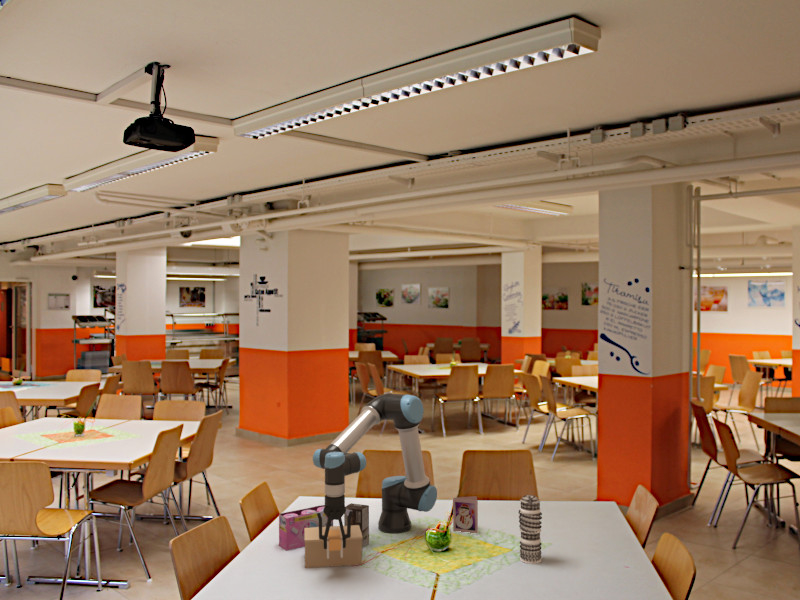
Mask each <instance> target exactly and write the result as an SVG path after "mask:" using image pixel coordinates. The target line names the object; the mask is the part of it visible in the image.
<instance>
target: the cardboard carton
mask: <svg viewBox="0 0 800 600" xmlns="http://www.w3.org/2000/svg"><path fill="white" fill-rule="evenodd" d="M362 552H363V550H362V539H356V540H346V547H345V548H343V558H341V556H340V550H335V551H329V559H327V549H324V541H320V542H305V546H304V568H306V569H308V568H309V569H310V568H322V567H323V568H325V567H326V566H328V567H340V566H342V565H345V566H356V565H357V566H360V565H362V563H363V561H362V559H363V557H362V556H363V554H362ZM358 564H360V565H358ZM342 567H343V566H342Z"/></svg>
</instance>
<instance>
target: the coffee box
mask: <svg viewBox="0 0 800 600" xmlns="http://www.w3.org/2000/svg"><path fill="white" fill-rule="evenodd" d="M345 507H346V509H348V510H352V516H351V525H359V527H360V530H361V534H362V548H364V547H366V546H367V545H369V544H370V513H369V512H370V511H369V509H370V506H369V505H367V504H359V503H349V504H347V505H346V506H345ZM343 517H344V518H343V519H344V522H343V523H344V524H343V526H347V515H346V512H345V513H344V515H343Z"/></svg>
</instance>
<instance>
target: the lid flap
mask: <svg viewBox="0 0 800 600" xmlns="http://www.w3.org/2000/svg"><path fill="white" fill-rule="evenodd" d="M343 527H344V532H345V534H347V526H344V525H343ZM325 529H326V527H322V535H324V533H325ZM304 534H305V542H320V541H324V540H322V539H319V527H312V528H304ZM341 538H342V533H341V529H340V525H338V526H337V525H333V526H332V527H330V529H329V533H328V538H327V539H329V551H335V550H341ZM356 539H362V534H361V530H360V527H359V525H351V537H350V538H347V539H346V540H356Z"/></svg>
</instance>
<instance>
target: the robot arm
mask: <svg viewBox="0 0 800 600" xmlns="http://www.w3.org/2000/svg"><path fill="white" fill-rule="evenodd" d="M424 411H425V409H424V404H423V402H422V400H421V399H420V398H419V397H418V396H416V395H413V394H412V395H411V394H402V393H401V394H400V393H392V392H391V393H389V392H388V393H383V394H381V395H379V396H376V397H375V398H373V399H371V400H370V401H369V402H368V403H367V404H366V405H364V407H362V409H361V413H360V414H359V415H358V416H356V418H354V419H353V421H352V422H351V423H349V425H348V426H347V427H345V428H344V429H343V430H342V432H341V433H339V434H338V435H337V437H335V438H334V439H333V440H332V441H331V442H330V443H329V444H328V446H327V447H325V448H318V449H316V450H315V451H314V452H313V454H312V455H313V456H312V463H313V465H314V466H315V467H316V468H320V469H323V470H324V494H325V495H324V505H325V507H324V509H323V510H322V511H318V512H317V516H318V519H319V539H322V540H324V549H327V559H329V539H327V538H328V533H329V529H330V524H331V521H332V520H333V521H334V520H336V521H338V526H340V529H341V533H342V538H341V550H340V556H341V558H343V548H345V547H346V539H347V538H350V537H351V516H352V510H348V509H346V506H345V504H346V503H345V501H346V500H345V499H346V498H345V496H346V495H345V493H346V492H345V491H346V489H345V486H346V482H345V481H346V476H350V475H352V474H358V473H360V472H361V471H364V470H365V469H366V466H367V458H366V456H365V455H364V453H362V452H359V451H357V452H356V451H354V452H352V453H350V450H351V449H352V448H353V447H354V446H355V445H356V444H357V443H359V441H360V440H361V439H362V438H363V437H364V436H365V434H367V433H368V431H370V430H371V429H372V428H373V426H375V425H376V426H377V425H378V424H380V423H381V422H382V421H385V420H386V421H387V420H388V421H392V422H393V427H394V429H396V430H397V431H398V435H399V436H398V437H399V442H400V447H401V449H400V450H401V454H402V458H403V459H402V460H403V466H404V470H405V475H395V476H388V477H385V478H384V479H383V480H382V481H381V513H380V516H379V519H378V521H377V522H378V523H377V525H378V526H377V529H378V530H379V531H381V532H384V533H387V534H402V533H406V532H409V531H410V530H411V529H412V522H411V519H410V516H409V513H408V512H409V511H408V509H411V510H413V511H418V512H424V513H425V512H426V513H427V512H430V511H431V510H432V509H433V507H434V506H435V505H436V501H437V498H438V490H437V489H438V488H436V486H435V485H431V480H430V477H428V476H427V475H426V470H425V464H424V458H423V453H422V445H421V440H420V434H419V428H418V427H419V426H420V425H421V422H422V420H423V418H424V413H425V412H424ZM345 512H346V515H347V534H345V532H344V527H343V526H344V524H343V523H344V522H343V519H342V517H344V513H345ZM324 513H325V515H326V516H327V517H328V520H327V525H326V529H325V533H324V535H322V517H323V514H324Z"/></svg>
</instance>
